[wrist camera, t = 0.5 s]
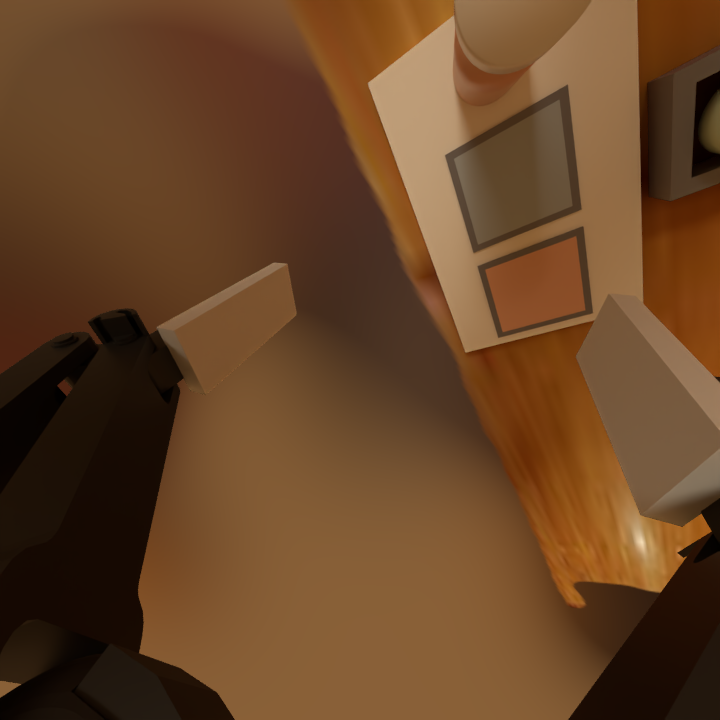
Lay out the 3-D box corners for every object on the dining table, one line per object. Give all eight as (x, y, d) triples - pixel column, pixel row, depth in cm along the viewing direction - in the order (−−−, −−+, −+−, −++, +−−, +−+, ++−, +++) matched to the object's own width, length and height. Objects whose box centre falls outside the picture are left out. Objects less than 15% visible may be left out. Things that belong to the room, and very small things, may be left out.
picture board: (370, 86, 24) (367, 82, 23) (623, -112, 17) (636, -131, 15) (465, 347, 36) (465, 353, 35) (636, 302, 29) (644, 308, 28)
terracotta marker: (496, -17, 19) (562, -254, 8) (544, 49, 20) (661, -80, 9) (436, 72, 22) (425, -11, 11) (481, 124, 23) (512, 98, 12)
